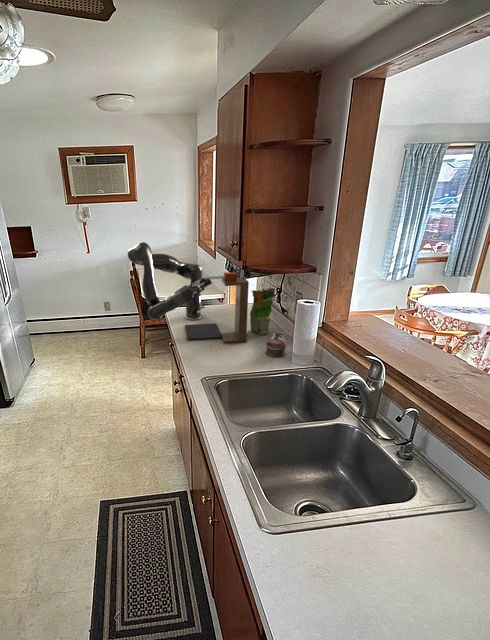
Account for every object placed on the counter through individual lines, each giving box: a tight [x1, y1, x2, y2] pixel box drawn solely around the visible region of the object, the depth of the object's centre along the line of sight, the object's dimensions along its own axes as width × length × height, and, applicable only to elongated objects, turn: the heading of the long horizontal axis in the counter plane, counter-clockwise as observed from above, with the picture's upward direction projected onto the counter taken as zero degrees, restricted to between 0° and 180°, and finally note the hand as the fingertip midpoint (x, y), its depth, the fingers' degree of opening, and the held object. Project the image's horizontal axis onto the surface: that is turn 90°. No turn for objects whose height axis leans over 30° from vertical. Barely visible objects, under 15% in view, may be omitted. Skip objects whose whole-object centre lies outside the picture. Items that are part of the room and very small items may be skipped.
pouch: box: [249, 287, 276, 336], centre depth 212 cm, size 11×12×25 cm
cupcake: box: [265, 332, 287, 358], centre depth 188 cm, size 10×10×10 cm
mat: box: [185, 322, 222, 341], centre depth 220 cm, size 22×18×1 cm
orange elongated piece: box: [203, 271, 238, 281], centre depth 195 cm, size 4×16×3 cm, turn 92°
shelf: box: [220, 276, 250, 344], centre depth 203 cm, size 12×12×32 cm
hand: (209, 278), depth 195 cm, fingers open, 8 cm apart
